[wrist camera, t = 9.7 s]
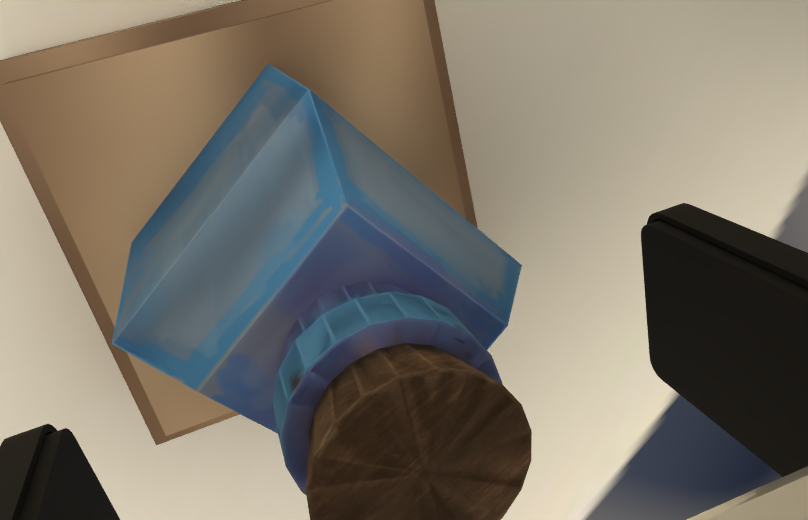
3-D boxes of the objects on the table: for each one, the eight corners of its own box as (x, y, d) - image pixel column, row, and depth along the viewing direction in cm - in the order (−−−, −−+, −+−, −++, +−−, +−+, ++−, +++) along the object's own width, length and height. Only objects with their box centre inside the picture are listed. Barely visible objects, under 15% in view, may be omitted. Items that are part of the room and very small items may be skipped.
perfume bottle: (306, 348, 21) (439, 698, 10) (131, 242, 18) (66, 571, 8) (429, 196, 21) (700, 399, 10) (267, 63, 18) (403, 147, 7)
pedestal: (390, -37, 22) (431, -46, 18) (457, 282, 27) (500, 325, 23) (7, 58, 19) (-31, 70, 16) (158, 389, 24) (155, 454, 21)
